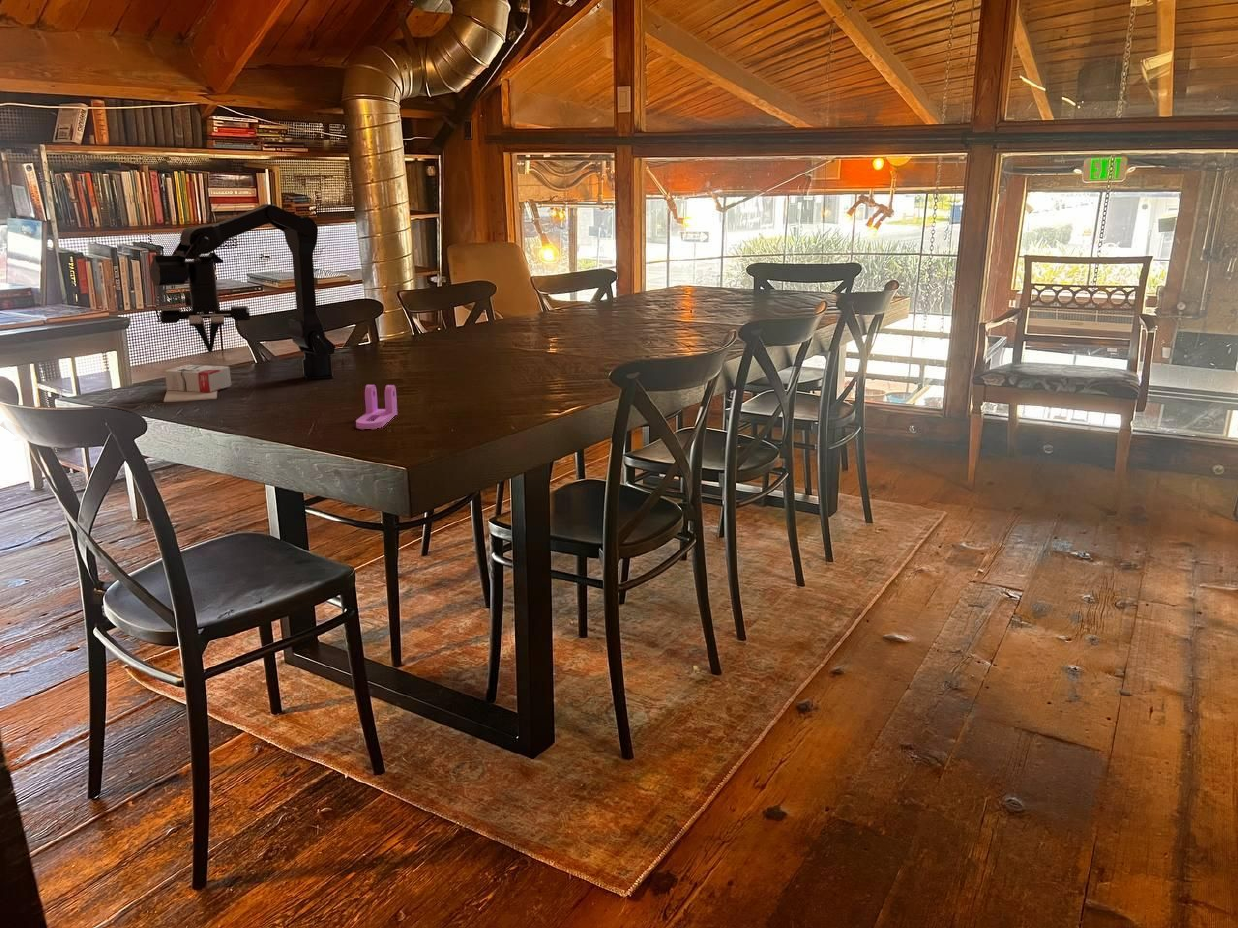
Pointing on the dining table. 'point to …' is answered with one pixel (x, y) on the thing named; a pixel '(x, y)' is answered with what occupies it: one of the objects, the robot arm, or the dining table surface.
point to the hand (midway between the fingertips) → (210, 351)
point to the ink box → (198, 378)
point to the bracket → (372, 408)
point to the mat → (188, 395)
